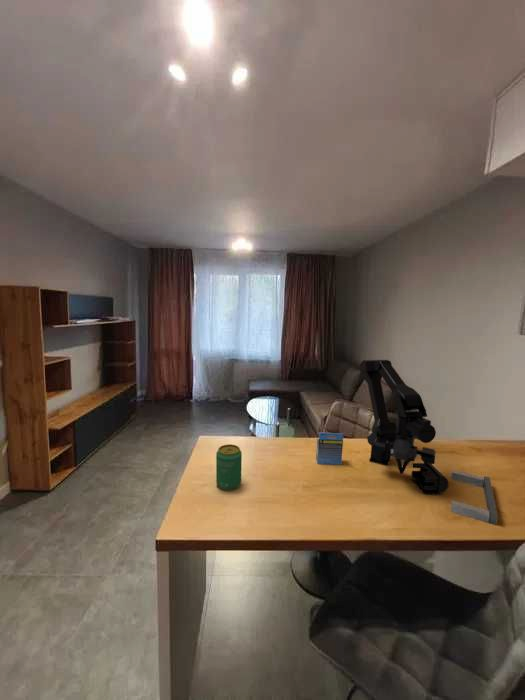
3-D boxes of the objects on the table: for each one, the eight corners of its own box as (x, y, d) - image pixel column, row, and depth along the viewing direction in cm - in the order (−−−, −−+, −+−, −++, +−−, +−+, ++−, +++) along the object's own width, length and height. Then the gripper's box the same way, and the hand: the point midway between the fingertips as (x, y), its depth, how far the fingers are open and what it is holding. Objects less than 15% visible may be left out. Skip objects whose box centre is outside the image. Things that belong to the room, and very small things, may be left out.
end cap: (447, 496, 102) (450, 476, 101) (425, 495, 102) (427, 475, 101) (430, 478, 112) (432, 460, 111) (410, 478, 112) (412, 459, 111)
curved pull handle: (450, 511, 95) (452, 502, 94) (451, 476, 114) (452, 468, 113) (496, 525, 90) (497, 515, 89) (488, 485, 108) (489, 477, 108)
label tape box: (339, 460, 124) (341, 429, 122) (341, 465, 120) (343, 433, 118) (315, 459, 124) (317, 428, 122) (317, 464, 120) (319, 432, 118)
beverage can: (245, 481, 108) (246, 446, 106) (233, 493, 101) (233, 457, 99) (224, 475, 111) (224, 441, 109) (211, 487, 104) (211, 451, 102)
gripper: (371, 431, 106) (367, 476, 109) (436, 445, 97) (430, 494, 99) (378, 421, 116) (374, 462, 118) (437, 432, 107) (432, 477, 109)
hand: (401, 473), depth 111 cm, fingers closed
